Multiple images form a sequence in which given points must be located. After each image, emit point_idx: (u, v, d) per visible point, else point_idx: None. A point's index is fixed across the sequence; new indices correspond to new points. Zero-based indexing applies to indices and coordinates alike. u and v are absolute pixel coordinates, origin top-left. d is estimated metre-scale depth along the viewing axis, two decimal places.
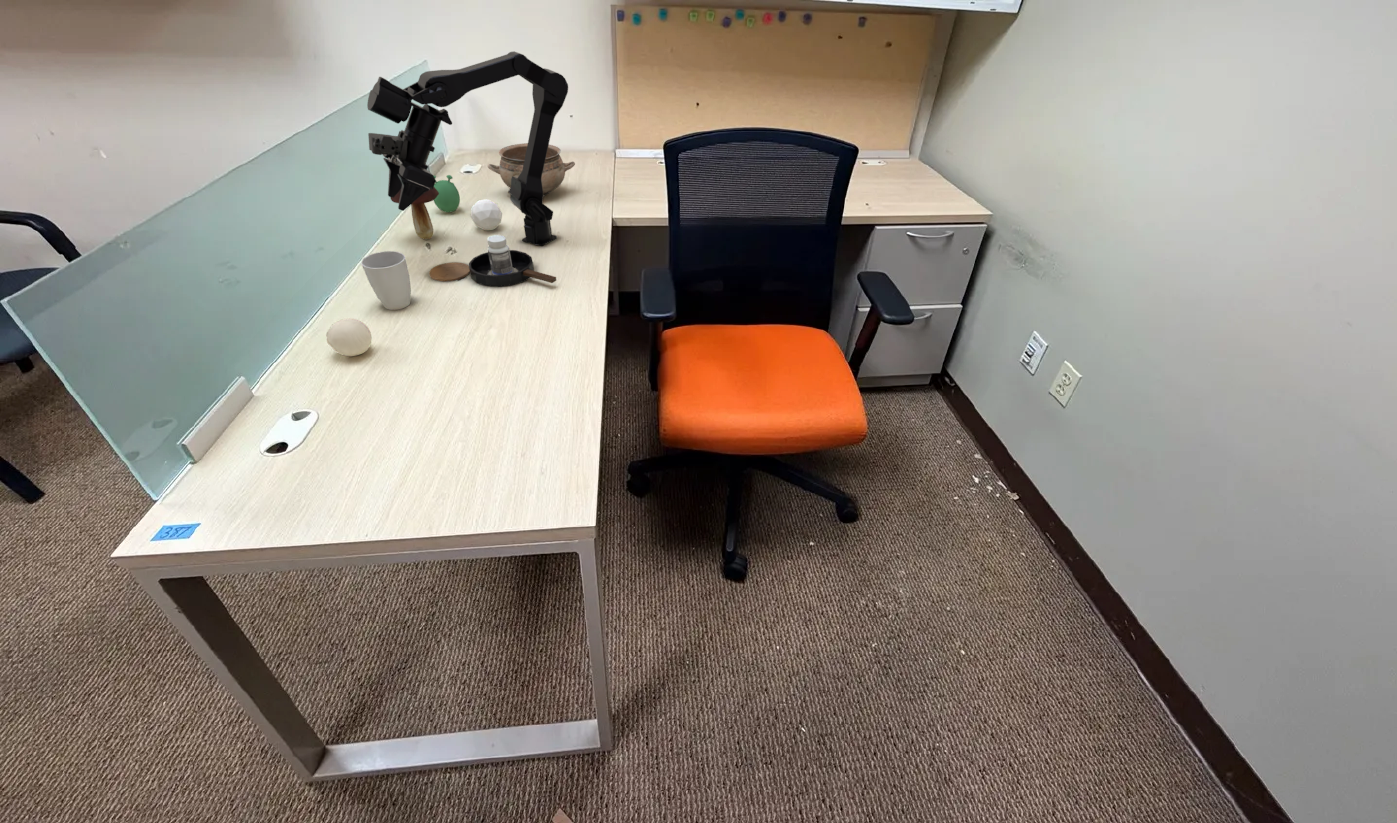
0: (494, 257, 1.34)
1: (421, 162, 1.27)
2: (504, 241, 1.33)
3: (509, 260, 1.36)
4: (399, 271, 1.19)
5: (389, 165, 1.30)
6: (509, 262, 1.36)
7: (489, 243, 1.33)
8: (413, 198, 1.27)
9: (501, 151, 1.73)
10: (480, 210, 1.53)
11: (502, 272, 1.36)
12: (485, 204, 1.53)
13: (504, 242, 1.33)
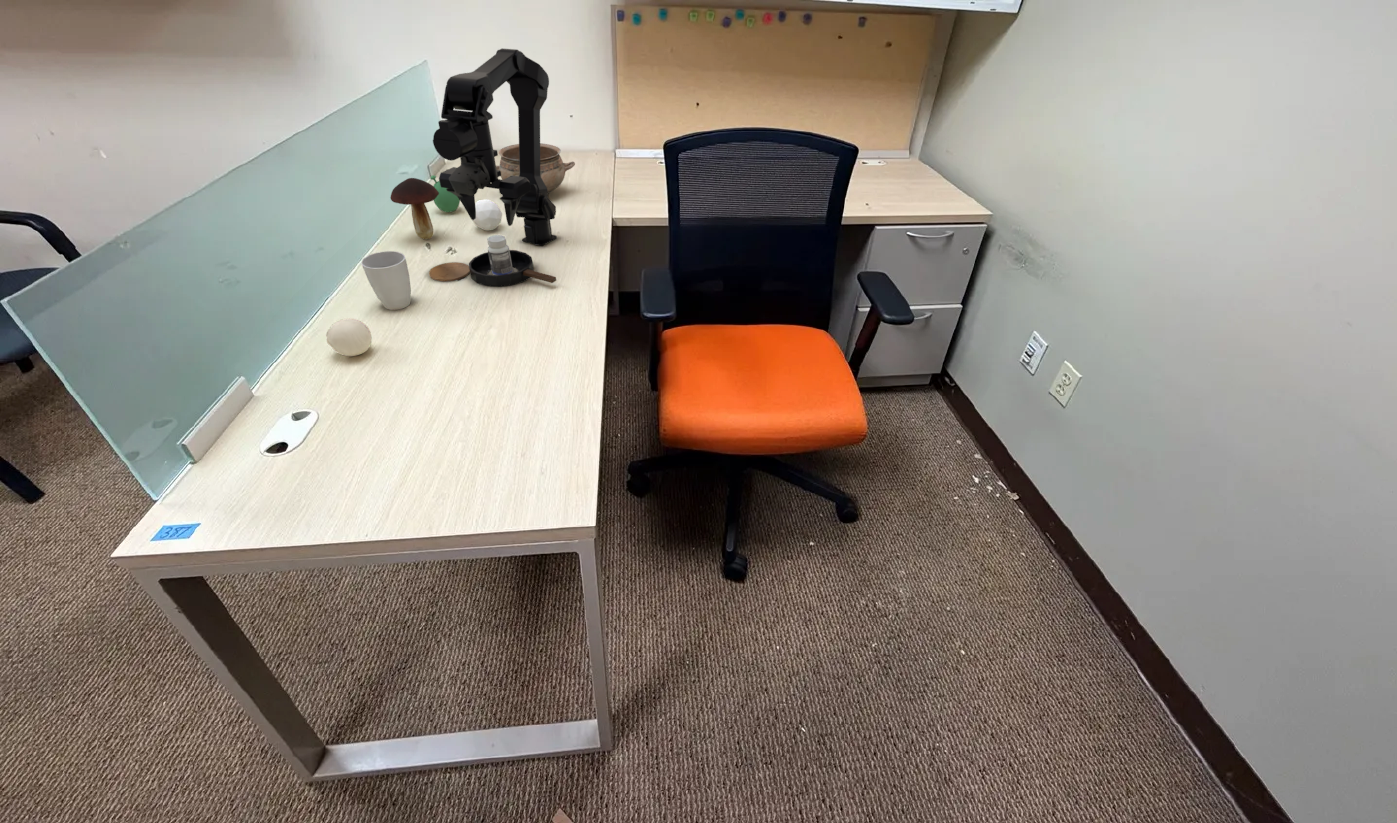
0: (494, 257, 1.34)
1: (496, 171, 1.25)
2: (504, 241, 1.33)
3: (509, 260, 1.36)
4: (399, 271, 1.19)
5: (460, 193, 1.27)
6: (509, 262, 1.36)
7: (489, 243, 1.33)
8: (515, 208, 1.29)
9: (501, 151, 1.73)
10: (480, 210, 1.53)
11: (502, 272, 1.36)
12: (485, 204, 1.53)
13: (504, 242, 1.33)
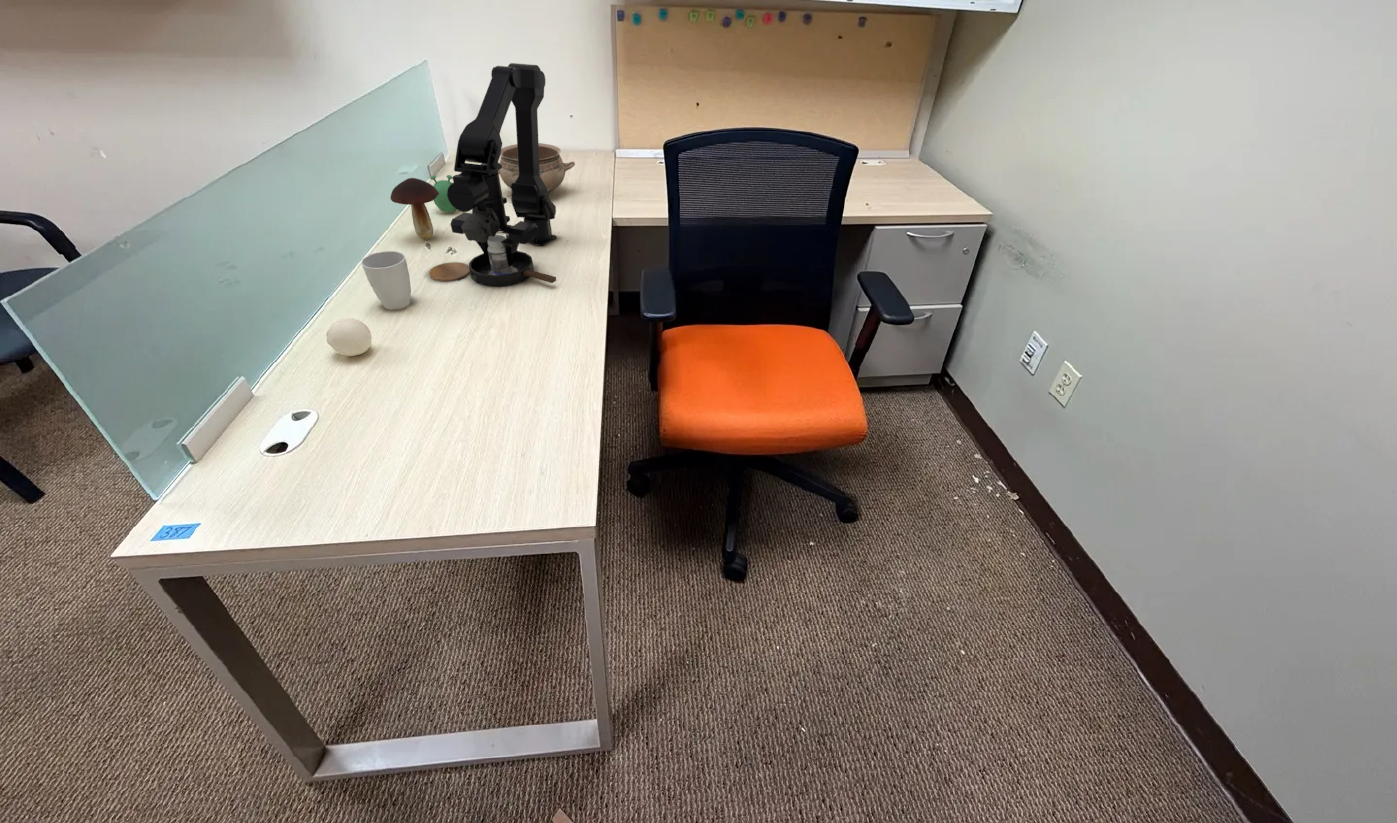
0: (494, 257, 1.34)
1: (506, 217, 1.31)
2: None
3: None
4: (399, 271, 1.19)
5: None
6: None
7: (489, 243, 1.33)
8: (515, 250, 1.35)
9: (501, 151, 1.73)
10: None
11: (502, 272, 1.36)
12: None
13: None
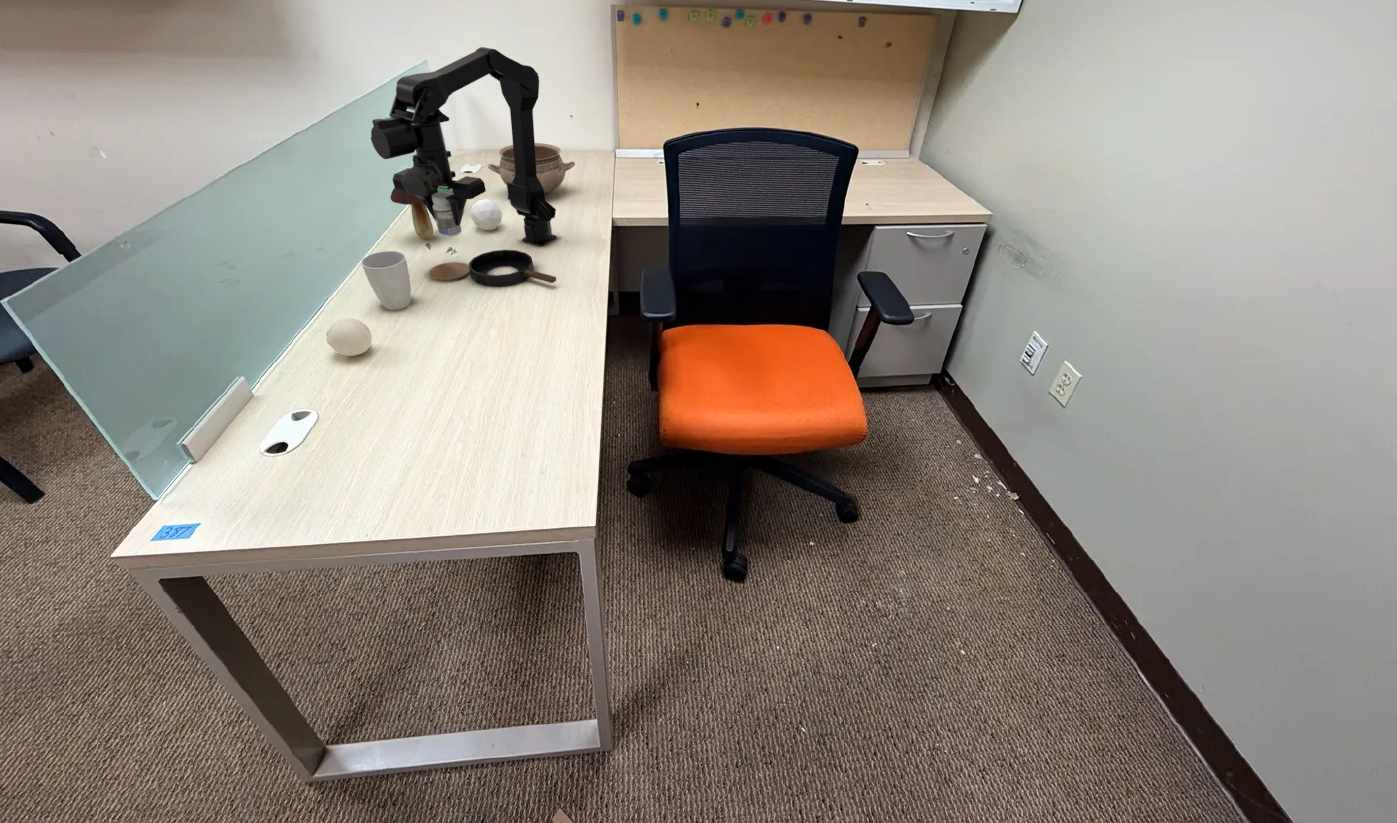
0: (440, 215, 1.27)
1: (450, 172, 1.24)
2: None
3: None
4: (399, 271, 1.19)
5: None
6: None
7: (433, 200, 1.26)
8: (462, 208, 1.29)
9: (501, 151, 1.73)
10: (480, 210, 1.53)
11: (449, 232, 1.30)
12: (485, 204, 1.53)
13: None
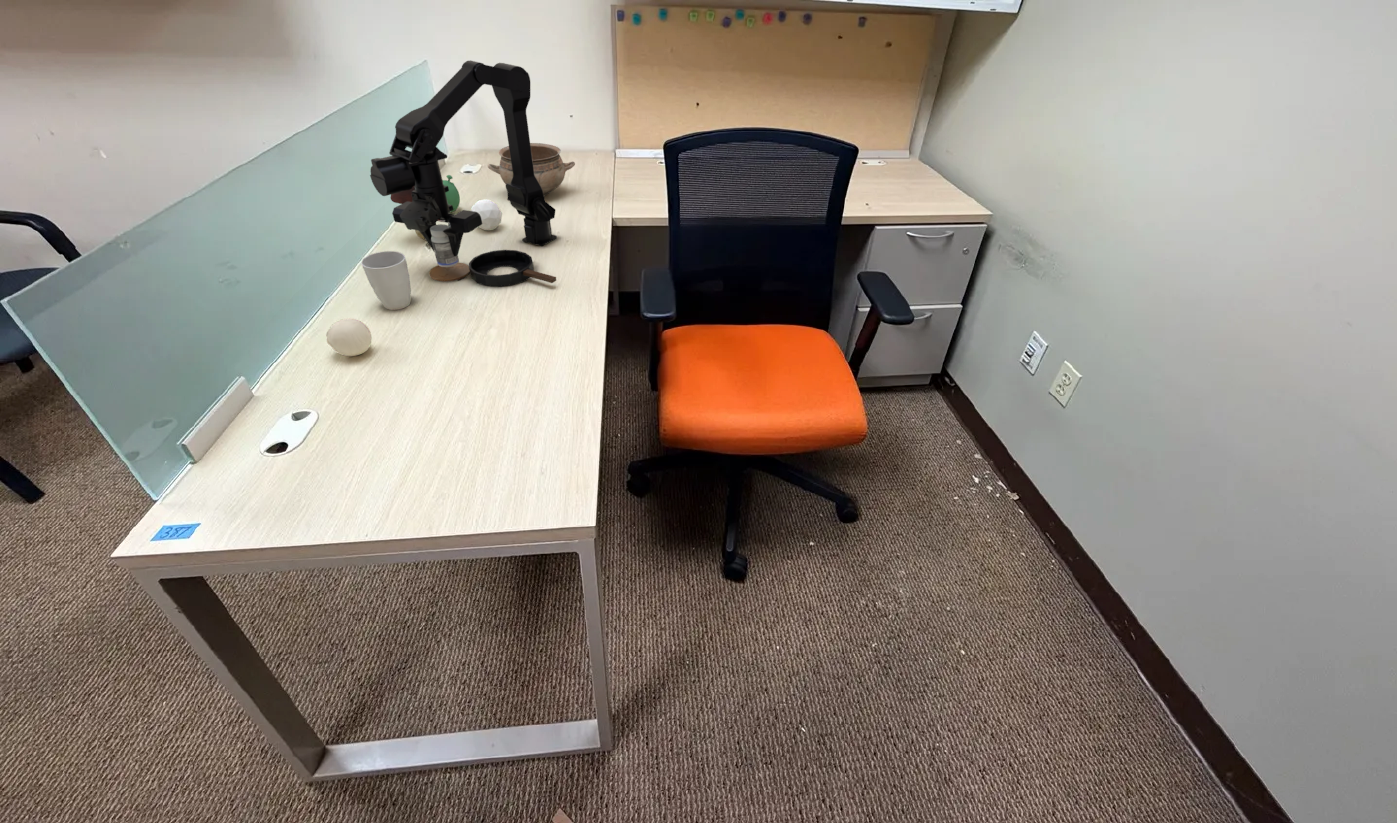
0: (438, 247, 1.32)
1: (448, 206, 1.29)
2: None
3: None
4: (399, 271, 1.19)
5: None
6: None
7: (432, 232, 1.30)
8: (460, 240, 1.33)
9: (501, 151, 1.73)
10: (480, 210, 1.53)
11: (447, 262, 1.34)
12: (485, 204, 1.53)
13: None
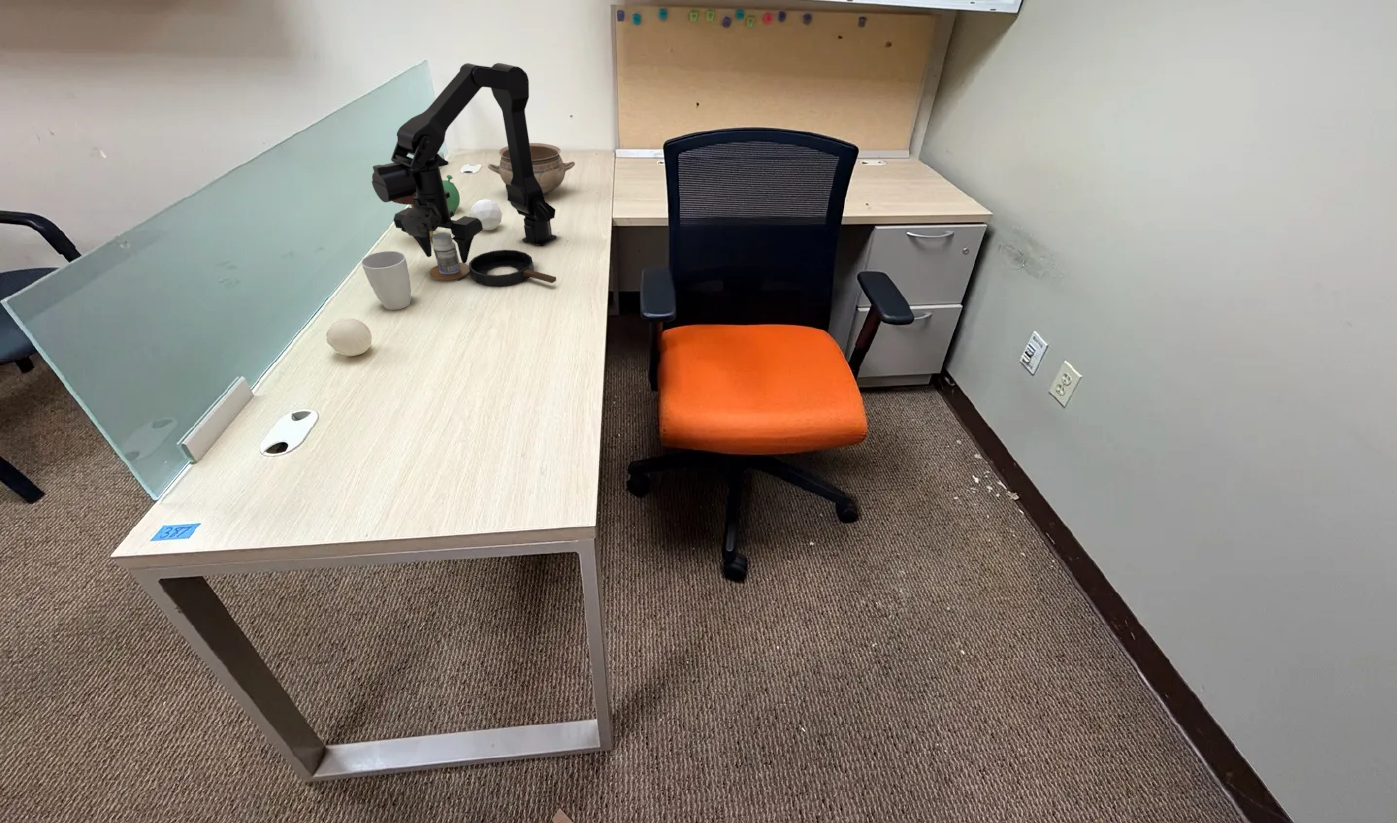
0: (440, 255, 1.33)
1: (449, 212, 1.30)
2: (449, 238, 1.32)
3: (455, 258, 1.35)
4: (399, 271, 1.19)
5: None
6: (456, 260, 1.35)
7: (434, 240, 1.31)
8: (469, 247, 1.33)
9: (501, 151, 1.73)
10: (480, 210, 1.53)
11: (448, 270, 1.35)
12: (485, 204, 1.53)
13: (449, 239, 1.32)
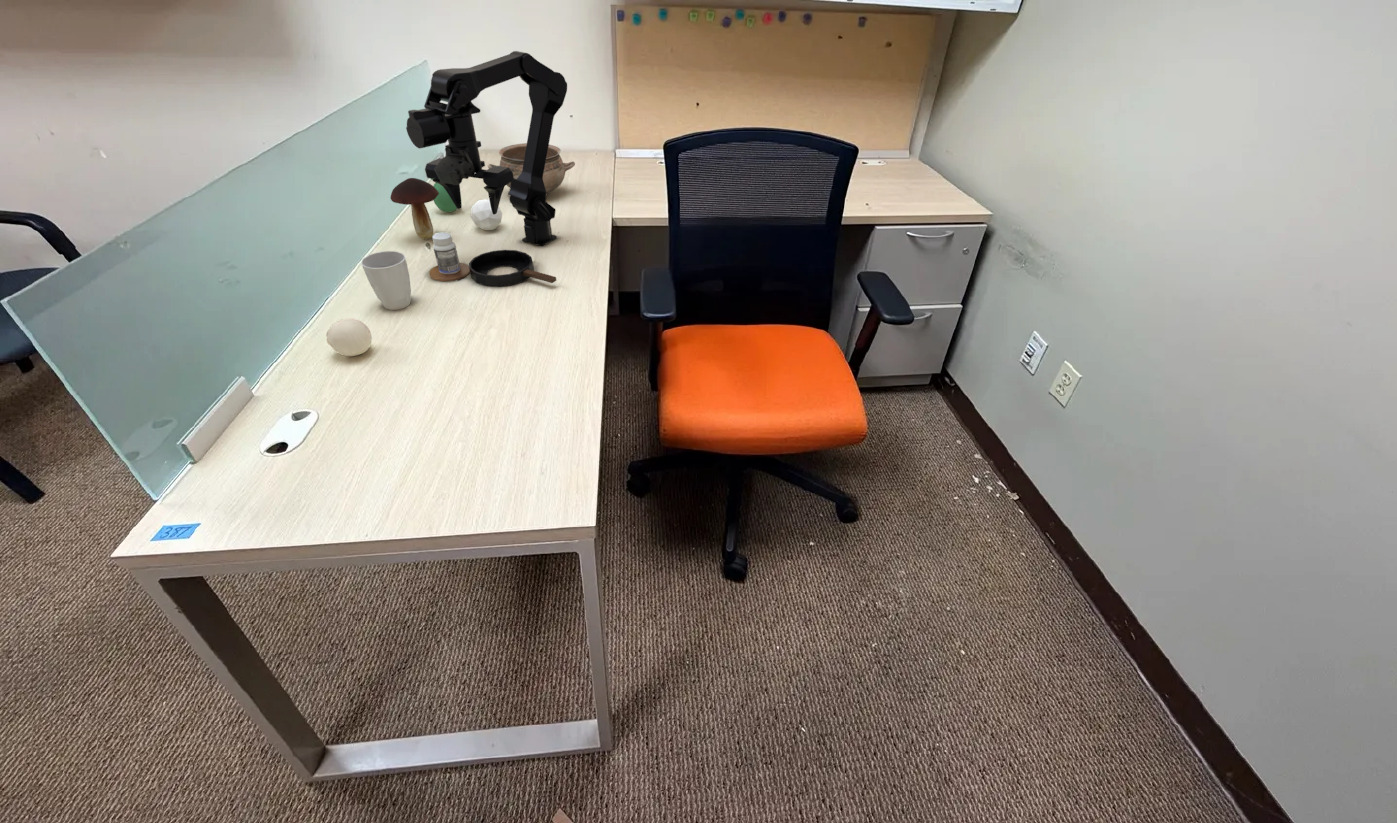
0: (440, 255, 1.33)
1: (480, 162, 1.30)
2: (449, 238, 1.32)
3: (455, 258, 1.35)
4: (399, 271, 1.19)
5: (445, 183, 1.32)
6: (456, 260, 1.35)
7: (434, 240, 1.31)
8: (499, 197, 1.34)
9: (501, 151, 1.73)
10: (480, 210, 1.53)
11: (448, 270, 1.35)
12: (485, 204, 1.53)
13: (449, 239, 1.32)
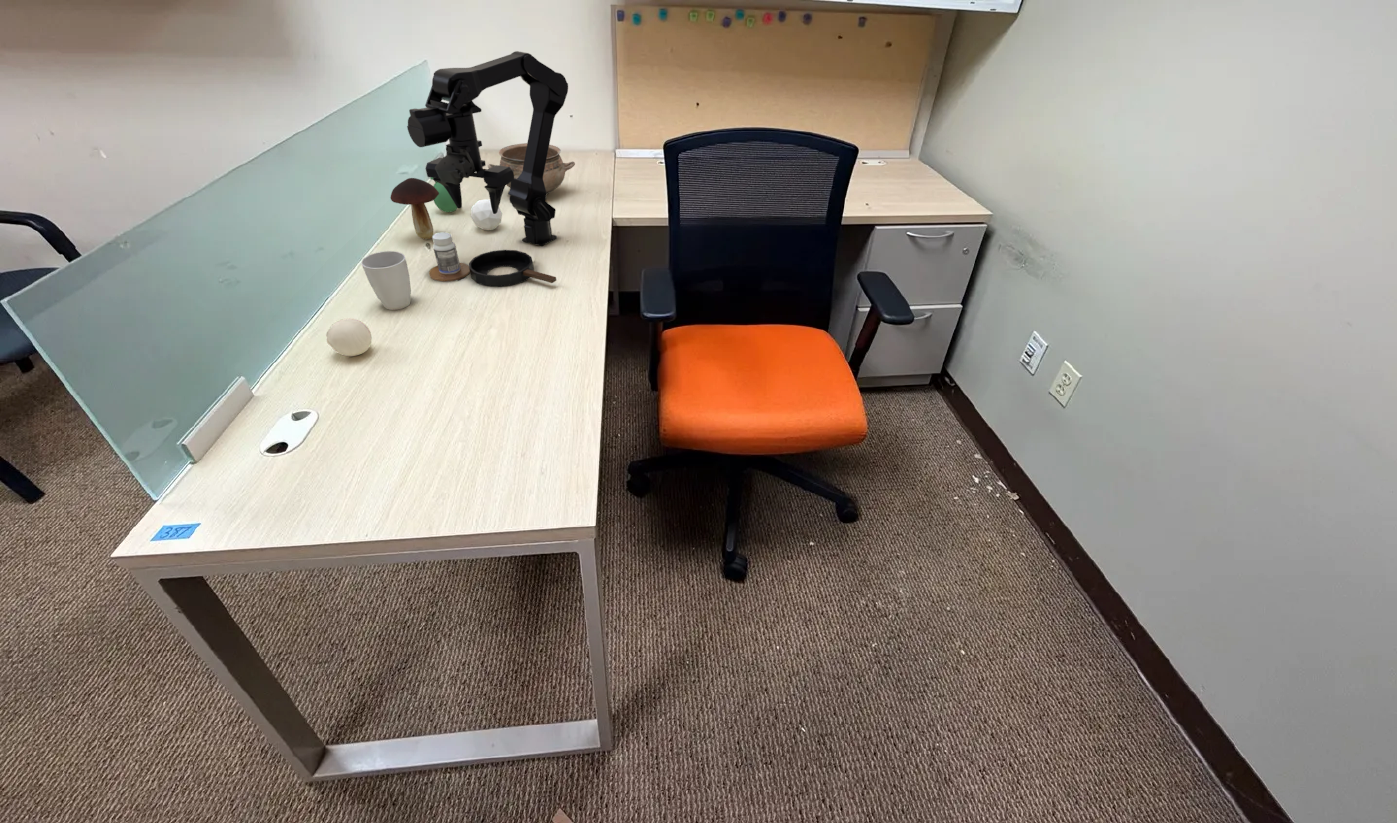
0: (440, 255, 1.33)
1: (481, 161, 1.30)
2: (449, 238, 1.32)
3: (455, 258, 1.35)
4: (399, 271, 1.19)
5: (446, 182, 1.32)
6: (456, 260, 1.35)
7: (434, 240, 1.31)
8: (500, 197, 1.34)
9: (501, 151, 1.73)
10: (480, 210, 1.53)
11: (448, 270, 1.35)
12: (485, 204, 1.53)
13: (449, 239, 1.32)
